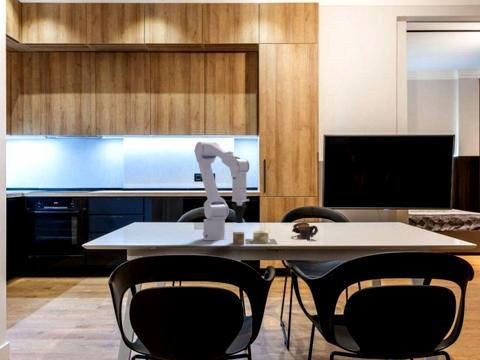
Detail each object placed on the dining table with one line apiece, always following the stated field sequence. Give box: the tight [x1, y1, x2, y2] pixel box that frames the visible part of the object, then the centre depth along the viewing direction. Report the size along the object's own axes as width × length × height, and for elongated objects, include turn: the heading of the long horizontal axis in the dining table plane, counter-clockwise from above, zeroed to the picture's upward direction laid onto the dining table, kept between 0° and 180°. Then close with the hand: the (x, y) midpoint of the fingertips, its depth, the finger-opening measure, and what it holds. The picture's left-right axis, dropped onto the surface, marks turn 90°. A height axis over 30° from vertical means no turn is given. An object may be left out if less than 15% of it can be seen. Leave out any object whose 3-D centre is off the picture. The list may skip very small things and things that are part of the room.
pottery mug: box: [291, 222, 319, 241], centre depth 187 cm, size 12×10×8 cm
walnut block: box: [232, 231, 245, 246], centre depth 170 cm, size 4×4×5 cm
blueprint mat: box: [244, 238, 278, 245], centre depth 175 cm, size 13×13×1 cm
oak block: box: [252, 230, 269, 242], centre depth 176 cm, size 6×6×4 cm
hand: (239, 221), depth 170 cm, fingers open, 7 cm apart
